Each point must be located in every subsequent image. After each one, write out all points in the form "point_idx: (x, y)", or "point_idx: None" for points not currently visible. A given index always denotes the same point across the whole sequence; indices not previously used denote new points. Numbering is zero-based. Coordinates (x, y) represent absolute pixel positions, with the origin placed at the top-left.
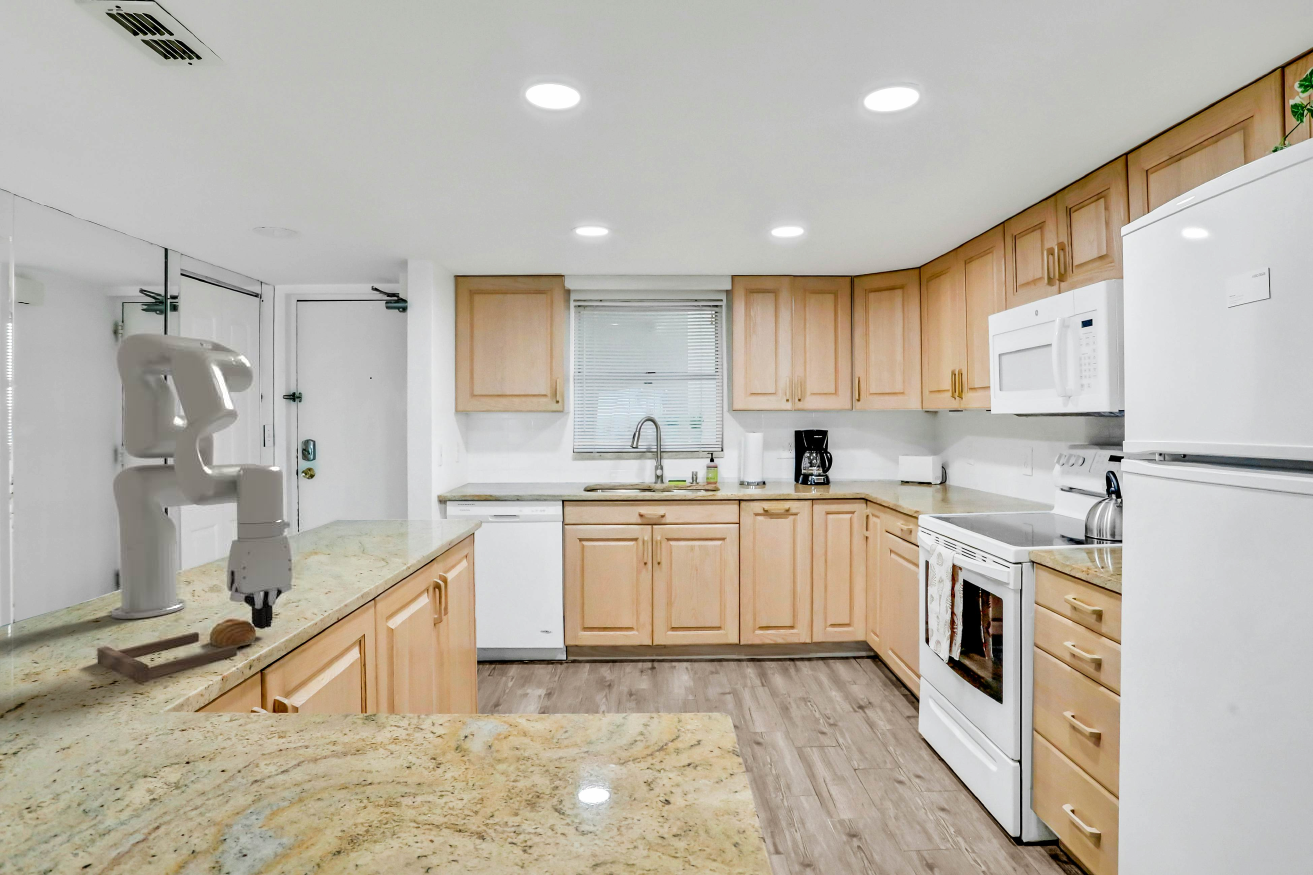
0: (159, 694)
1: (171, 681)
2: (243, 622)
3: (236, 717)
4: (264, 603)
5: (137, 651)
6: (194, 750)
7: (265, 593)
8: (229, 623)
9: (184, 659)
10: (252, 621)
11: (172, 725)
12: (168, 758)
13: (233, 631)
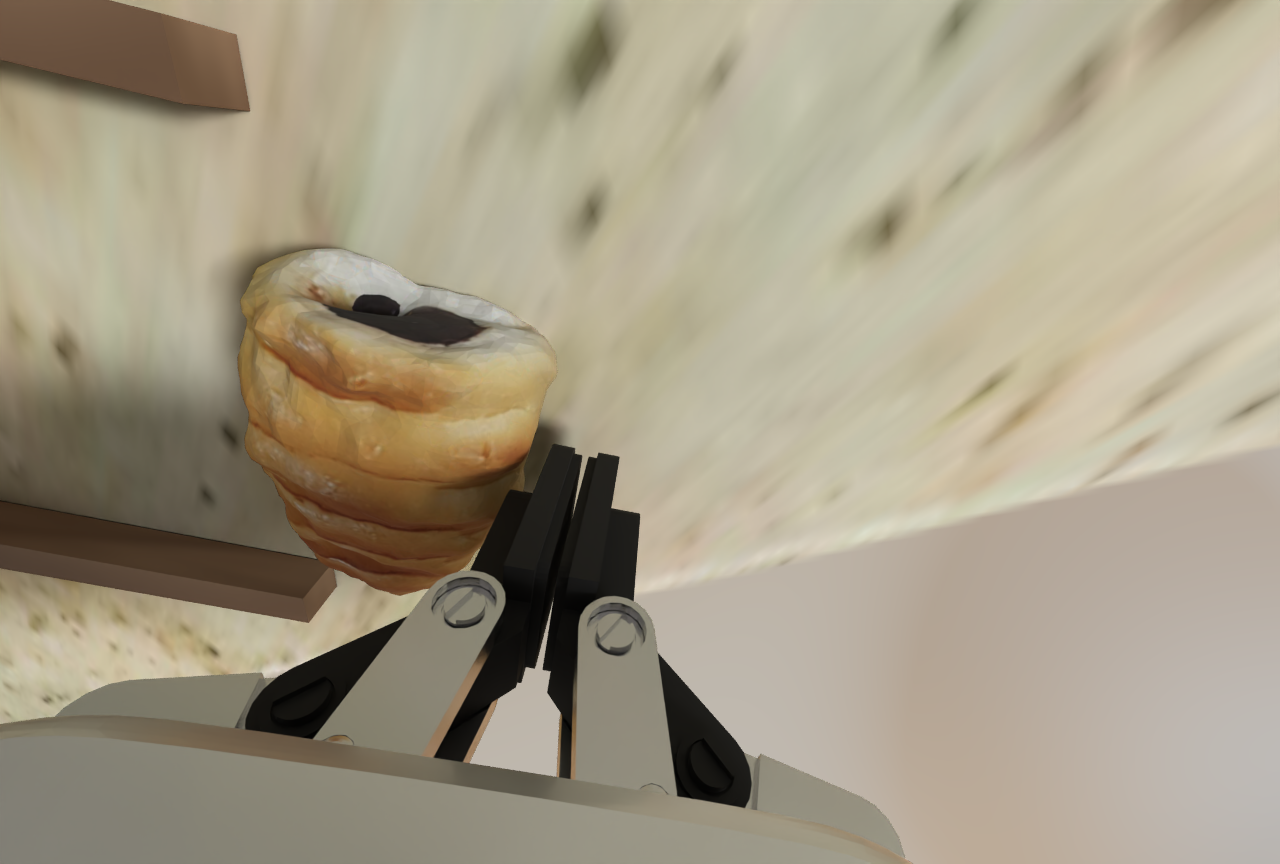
0: (20, 651)
1: (54, 599)
2: (412, 520)
3: None
4: (551, 670)
5: None
6: None
7: (595, 741)
8: (322, 451)
9: (56, 566)
10: (507, 500)
11: None
12: None
13: (323, 539)
